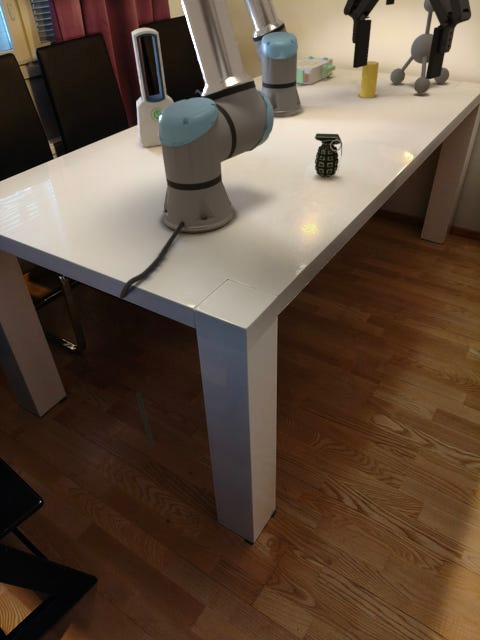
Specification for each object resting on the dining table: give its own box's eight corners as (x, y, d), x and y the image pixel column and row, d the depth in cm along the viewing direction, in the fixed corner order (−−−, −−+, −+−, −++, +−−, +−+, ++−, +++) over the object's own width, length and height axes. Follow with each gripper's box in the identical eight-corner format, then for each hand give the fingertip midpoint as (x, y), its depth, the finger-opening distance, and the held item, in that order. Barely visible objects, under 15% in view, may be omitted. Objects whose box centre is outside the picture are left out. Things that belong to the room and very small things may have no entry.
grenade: (312, 179, 121) (313, 138, 114) (314, 171, 125) (316, 131, 119) (338, 181, 119) (342, 139, 113) (340, 172, 124) (344, 132, 117)
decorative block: (301, 54, 217) (341, 57, 207) (300, 70, 221) (340, 74, 211) (269, 65, 201) (312, 69, 191) (269, 82, 205) (311, 87, 195)
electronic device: (141, 147, 146) (122, 33, 128) (139, 140, 152) (119, 29, 134) (182, 142, 149) (168, 28, 130) (178, 135, 154) (164, 25, 136)
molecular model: (468, 88, 182) (489, -8, 163) (419, 97, 176) (435, -2, 158) (427, 77, 199) (442, -12, 181) (381, 84, 193) (392, -7, 175)
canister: (378, 95, 181) (381, 62, 174) (369, 98, 178) (372, 65, 171) (365, 93, 184) (369, 60, 178) (356, 96, 182) (359, 63, 175)
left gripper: (528, -118, 58) (482, 77, 71) (360, -99, 73) (347, 58, 86) (496, -119, 54) (454, 87, 67) (326, -99, 69) (319, 66, 82)
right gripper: (422, -82, 142) (410, 4, 155) (371, -77, 161) (364, -1, 174) (401, -81, 140) (391, 6, 153) (352, -76, 158) (346, 1, 171)
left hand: (394, 71), depth 77 cm, fingers open, 13 cm apart
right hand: (377, 3), depth 163 cm, fingers open, 13 cm apart
